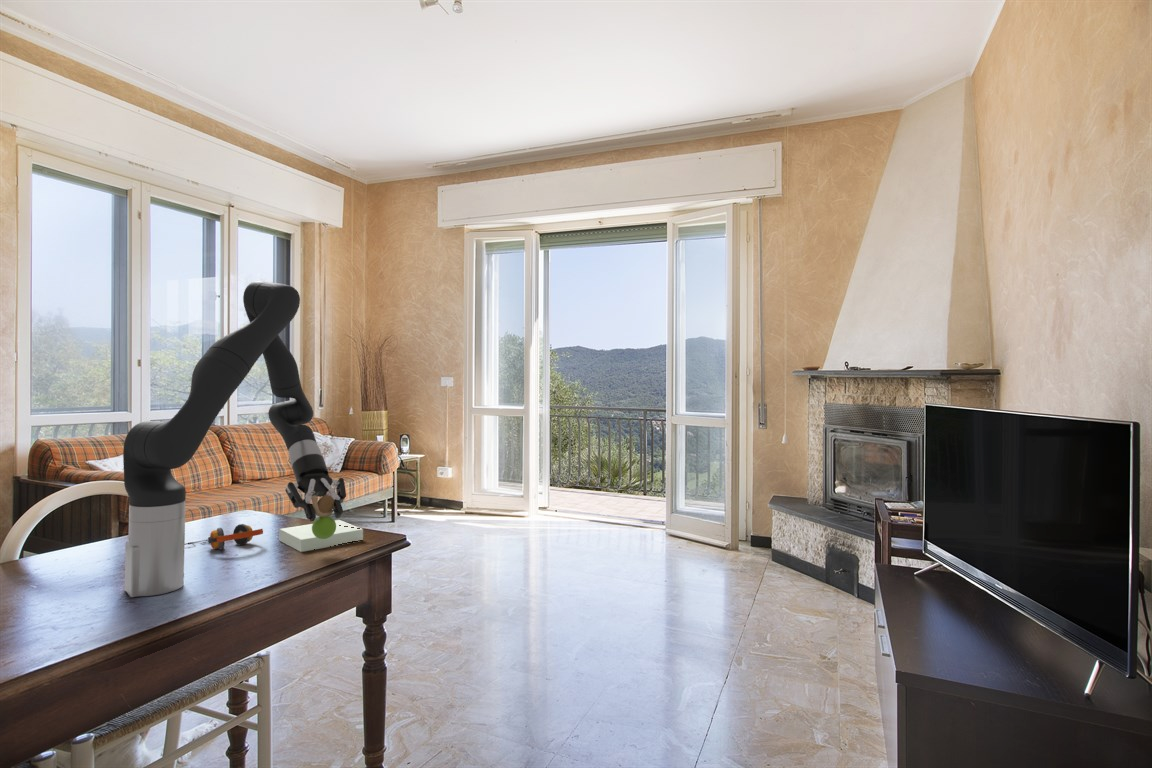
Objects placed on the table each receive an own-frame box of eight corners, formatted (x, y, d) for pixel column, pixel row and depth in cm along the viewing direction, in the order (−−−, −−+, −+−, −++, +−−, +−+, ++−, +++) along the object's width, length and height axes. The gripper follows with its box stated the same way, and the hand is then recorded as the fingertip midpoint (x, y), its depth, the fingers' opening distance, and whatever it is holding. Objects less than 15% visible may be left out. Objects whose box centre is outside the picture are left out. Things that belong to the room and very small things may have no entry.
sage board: (300, 552, 147) (301, 539, 147) (279, 540, 156) (279, 528, 156) (362, 540, 158) (363, 529, 158) (339, 530, 168) (339, 519, 168)
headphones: (245, 523, 164) (279, 517, 152) (247, 542, 163) (281, 538, 151) (176, 534, 151) (208, 530, 139) (178, 555, 150) (210, 552, 138)
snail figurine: (302, 540, 143) (304, 489, 143) (325, 534, 149) (326, 486, 149) (318, 543, 140) (320, 492, 140) (340, 537, 146) (342, 488, 146)
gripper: (282, 454, 145) (300, 512, 136) (340, 451, 155) (360, 504, 147) (273, 473, 148) (290, 531, 140) (330, 469, 159) (349, 522, 150)
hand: (326, 517), depth 143 cm, fingers closed on snail figurine, 5 cm apart
